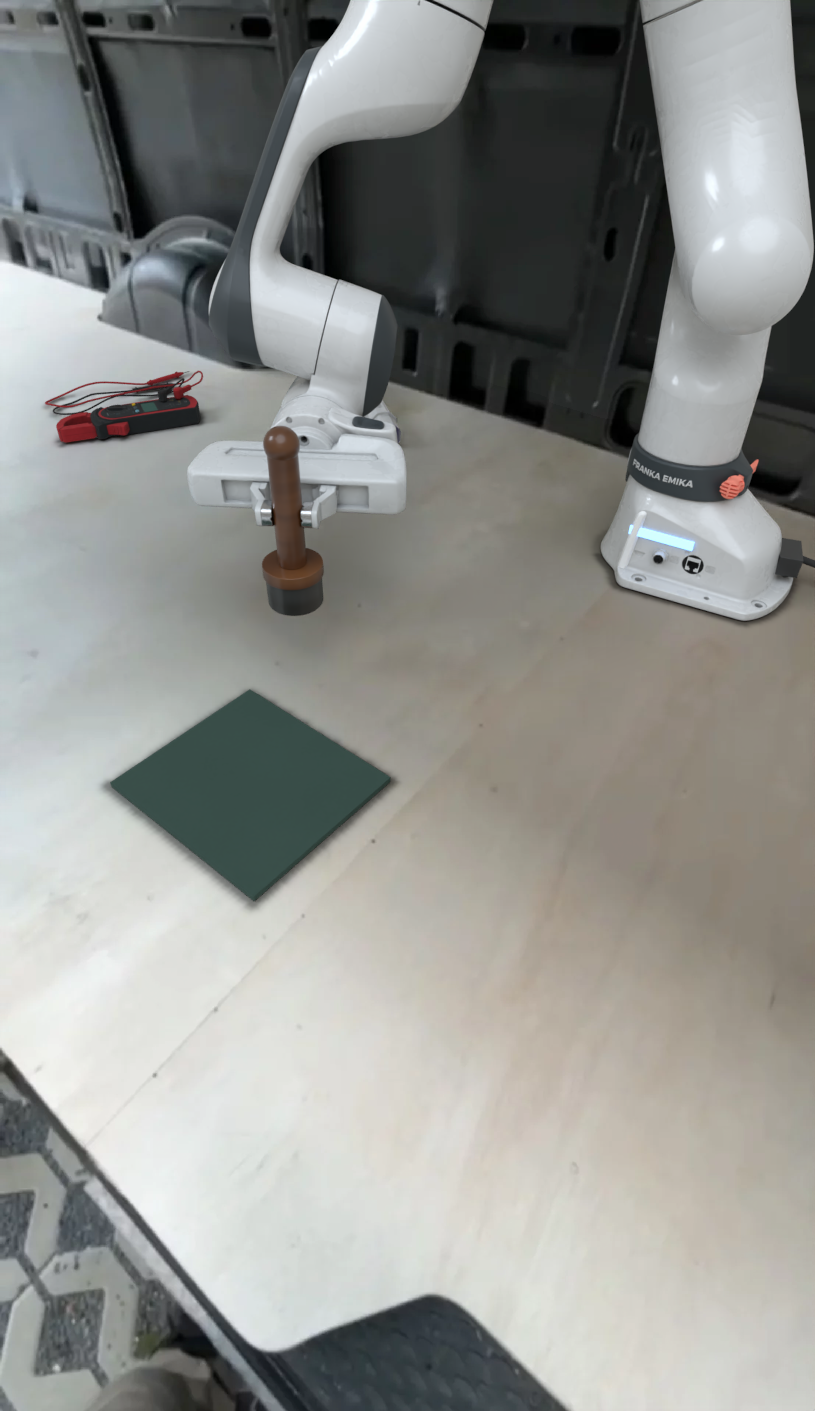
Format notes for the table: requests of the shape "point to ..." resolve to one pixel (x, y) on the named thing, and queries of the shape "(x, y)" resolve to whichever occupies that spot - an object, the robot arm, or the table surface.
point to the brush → (289, 532)
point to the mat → (251, 790)
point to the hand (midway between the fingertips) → (286, 520)
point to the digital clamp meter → (131, 411)
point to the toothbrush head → (384, 417)
